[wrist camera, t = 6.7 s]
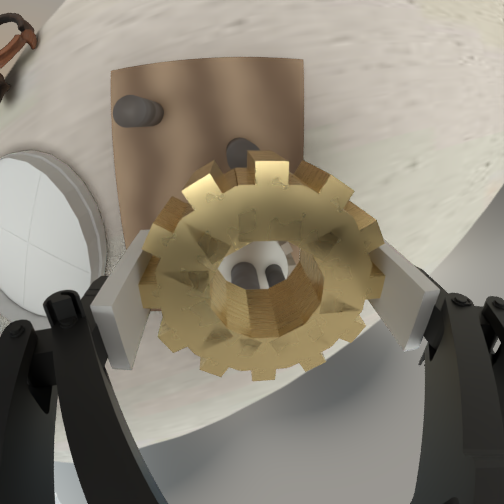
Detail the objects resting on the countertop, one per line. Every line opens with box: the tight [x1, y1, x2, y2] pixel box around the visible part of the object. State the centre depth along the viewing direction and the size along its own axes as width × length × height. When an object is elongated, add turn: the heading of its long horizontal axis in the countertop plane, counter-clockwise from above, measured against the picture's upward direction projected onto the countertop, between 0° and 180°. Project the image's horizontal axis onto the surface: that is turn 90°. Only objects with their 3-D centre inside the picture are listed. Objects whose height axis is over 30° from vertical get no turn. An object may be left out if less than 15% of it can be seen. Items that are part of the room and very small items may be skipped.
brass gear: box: [138, 151, 385, 381], centre depth 13 cm, size 10×10×4 cm
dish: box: [0, 150, 107, 331], centre depth 27 cm, size 22×22×5 cm
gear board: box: [111, 57, 304, 311], centre depth 25 cm, size 18×26×9 cm
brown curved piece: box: [0, 13, 37, 102], centre depth 18 cm, size 12×10×8 cm
